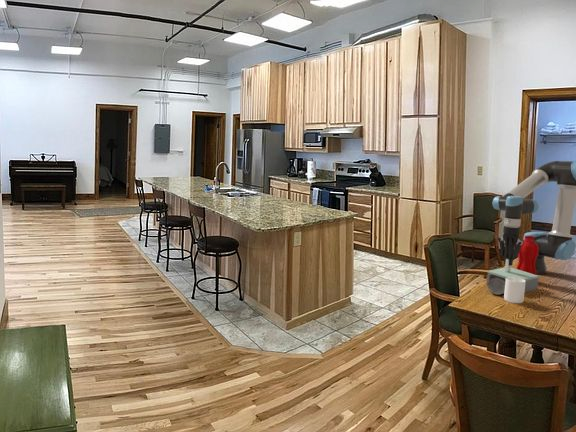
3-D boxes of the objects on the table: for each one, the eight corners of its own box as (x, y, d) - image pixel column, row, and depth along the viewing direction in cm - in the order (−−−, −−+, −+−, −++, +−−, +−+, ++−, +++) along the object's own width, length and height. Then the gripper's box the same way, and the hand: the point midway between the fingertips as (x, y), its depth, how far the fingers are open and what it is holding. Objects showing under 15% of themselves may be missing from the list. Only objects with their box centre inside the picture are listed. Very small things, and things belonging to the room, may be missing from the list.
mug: (512, 283, 223) (514, 285, 213) (505, 297, 224) (506, 300, 214) (491, 273, 226) (492, 275, 217) (484, 287, 227) (485, 289, 218)
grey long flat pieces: (507, 280, 242) (508, 269, 241) (537, 289, 228) (538, 277, 227) (486, 285, 233) (487, 274, 232) (516, 294, 219) (517, 282, 218)
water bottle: (522, 277, 249) (526, 233, 245) (538, 282, 239) (543, 237, 235) (508, 278, 246) (513, 233, 242) (525, 284, 236) (529, 237, 232)
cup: (503, 301, 208) (505, 280, 206) (503, 294, 218) (505, 274, 217) (523, 304, 204) (525, 283, 203) (522, 297, 215) (525, 276, 213)
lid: (508, 268, 241) (508, 266, 240) (538, 277, 227) (538, 275, 227) (487, 272, 231) (487, 270, 231) (517, 282, 218) (517, 280, 217)
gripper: (495, 224, 231) (491, 268, 235) (519, 228, 220) (515, 275, 224) (504, 223, 235) (500, 267, 239) (528, 227, 224) (523, 273, 228)
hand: (507, 271), depth 231 cm, fingers closed
